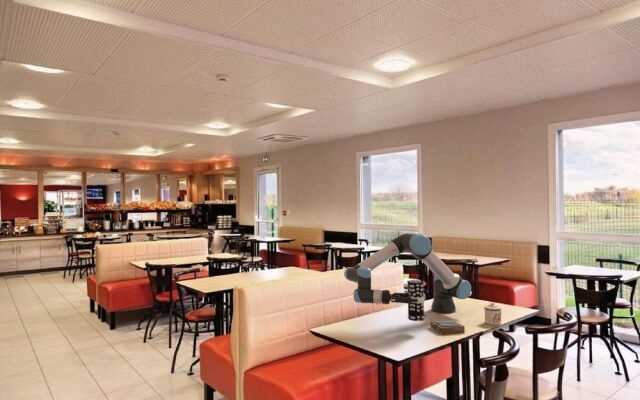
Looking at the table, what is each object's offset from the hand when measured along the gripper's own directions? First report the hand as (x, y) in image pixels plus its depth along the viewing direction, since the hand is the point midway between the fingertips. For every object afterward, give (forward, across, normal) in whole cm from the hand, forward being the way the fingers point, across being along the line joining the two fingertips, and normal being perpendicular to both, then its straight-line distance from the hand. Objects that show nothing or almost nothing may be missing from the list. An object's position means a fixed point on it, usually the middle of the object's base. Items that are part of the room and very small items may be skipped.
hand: (424, 298), depth 226 cm
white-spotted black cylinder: (-5, 0, -11) cm, 12 cm away
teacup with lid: (+37, -31, -19) cm, 52 cm away
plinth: (+11, -9, -19) cm, 24 cm away
